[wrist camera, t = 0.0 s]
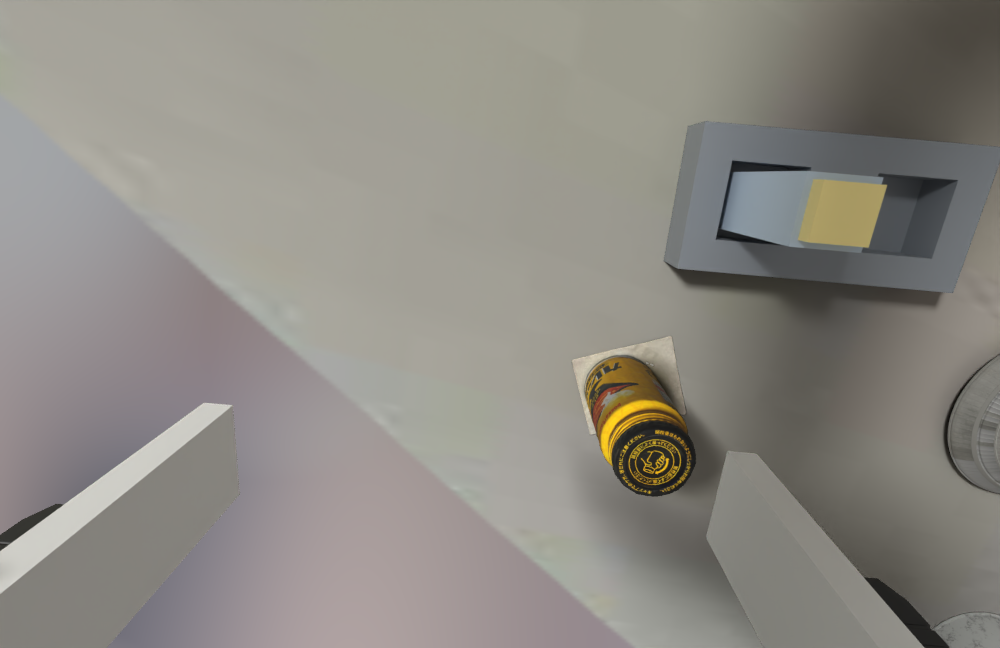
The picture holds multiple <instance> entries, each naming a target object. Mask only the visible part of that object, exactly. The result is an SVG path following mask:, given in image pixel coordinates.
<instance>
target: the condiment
mask: <svg viewBox="0 0 1000 648" xmlns="http://www.w3.org/2000/svg"><path fill="white" fill-rule="evenodd" d="M646 362H648V363H649V364H646ZM572 364H573V368H574V372H575V376H576V380H577V384H578V388H579V392H580V396H581V400H582V404H583V408H584V412H585V416H586V419H587V424H588V428H589V432H590V435H592V434H597V437H598V440H599V444H600V448H601V451H602V453H603V455H604V457H605V459H606V461H607V462H608V463H609V464H610V465H611V466H613V470H614V472H615V475H616V476H617V478H618V479H619V480H620V481H621V483H622V484H623V485H624V486H625V487H627V488H628V489H630V490H632V491H633V492H635V493H636V494H641V495H646V496H662V495H666V494H670V493H672V492H674V491H676V490H678V489H679V488H681V487H682V486H683V485H684V484H685V483H686V481H687V480H688V478H689V477H690V475H691V473H692V471H693V469H694V467H695V464H696V454H695V449H694V446H693V442H692V441H691V439H690V437H689V436H688V430H687V426H686V424H685V421H684V419H683V418H682V416H681V415H684V414H686V409H685V405H684V400H683V395H682V390H681V385H680V380H679V374H678V370H677V363H676V358H675V353H674V347H673V341H672V336H669V337H665V338H661V339H657V340H652V341H649V342H645V343H640V344H637V345H632V346H628V347H623V348H618V349H614V350H610V351H606V352H601V353H597V354H593V355H589V356H585V357H581V358H577V359H574V360H572ZM650 364H653V365H654V366H651V365H650Z"/></svg>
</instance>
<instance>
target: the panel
mask: <svg viewBox="0 0 1000 648" xmlns="http://www.w3.org/2000/svg"><path fill="white" fill-rule="evenodd" d="M999 163H1000V147H996V146H985V145H973V144H962V143H950V142H939V141H927V140H916V139H904V138H893V137H881V136H870V135H858V134H847V133H835V132H824V131H812V130H801V129H789V128H778V127H766V126H755V125H743V124H732V123H720V122H708V121H705V122H701V123H698V124H694V125H691V126H688V130H687V135H686V141H685V146H684V152H683V157H682V163H681V168H680V174H679V179H678V185H677V190H676V196H675V201H674V207H673V212H672V218H671V223H670V229H669V234H668V240H667V246H666V251H665V257H664V261H665V262H667V263H669V264H670V265H672V266H674V267H675V268H677V269H687V270H698V271H709V272H721V273H732V274H743V275H755V276H766V277H777V278H788V279H800V280H811V281H822V282H834V283H845V284H856V285H867V286H879V287H890V288H901V289H912V290H924V291H935V292H946V293H953V291H954V289H955V286H956V283H957V280H958V277H959V275H960V272H961V269H962V266H963V264H964V261H965V258H966V255H967V252H968V250H969V247H970V244H971V241H972V238H973V236H974V233H975V230H976V227H977V224H978V222H979V219H980V216H981V213H982V211H983V208H984V205H985V202H986V199H987V197H988V194H989V191H990V188H991V185H992V183H993V180H994V177H995V174H996V171H997V169H998V166H999ZM766 171H815V172H827V173H838V174H850V175H861V176H873V177H884V178H883V181H882V185H887V188H886V191H885V194H884V198H883V201H882V204H881V208H880V211H879V214H878V218H877V221H876V224H875V228H874V231H873V234H872V238H871V241H870V244H869V248H867V247H863V249H862V252H861V253H855V252H844V251H833V250H821V249H810V248H799V247H788V246H784V245H780V244H777V243H773V242H769V241H765V240H761V239H757V238H754V237H750V236H746V235H742V234H738V233H734V232H731V231H727V230H723V229H719V228H718V226H719V222H720V217H721V212H722V207H723V202H724V198H725V193H726V188H727V183H728V179H729V174H730V172H766Z"/></svg>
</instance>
